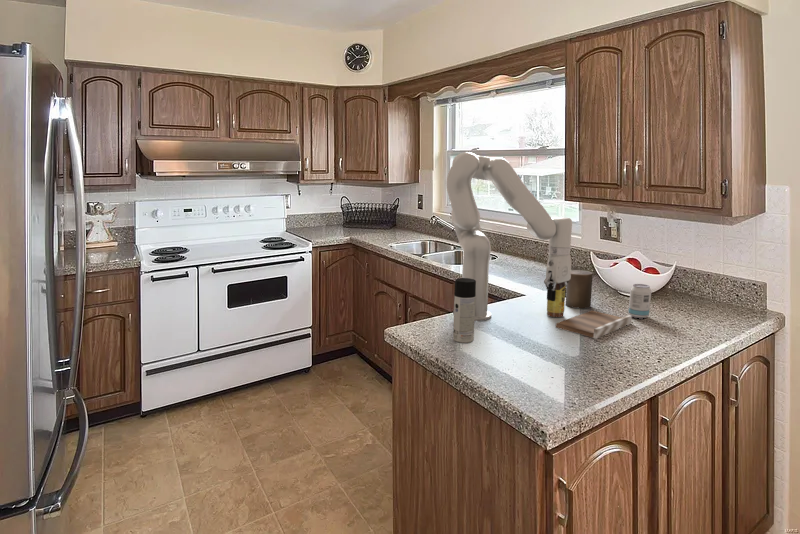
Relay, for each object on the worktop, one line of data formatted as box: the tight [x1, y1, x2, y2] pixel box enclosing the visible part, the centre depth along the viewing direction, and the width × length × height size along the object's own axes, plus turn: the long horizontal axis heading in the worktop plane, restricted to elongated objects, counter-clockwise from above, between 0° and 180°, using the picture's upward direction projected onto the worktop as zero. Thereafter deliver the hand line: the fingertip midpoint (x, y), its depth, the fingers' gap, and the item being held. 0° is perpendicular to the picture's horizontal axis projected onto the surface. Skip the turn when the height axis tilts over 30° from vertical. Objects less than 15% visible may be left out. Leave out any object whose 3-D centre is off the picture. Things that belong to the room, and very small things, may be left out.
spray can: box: [452, 277, 476, 344], centre depth 159 cm, size 7×7×20 cm
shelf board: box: [555, 310, 633, 339], centre depth 175 cm, size 24×15×3 cm, turn 130°
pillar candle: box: [564, 269, 594, 310], centre depth 199 cm, size 10×10×15 cm
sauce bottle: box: [546, 280, 566, 318], centre depth 185 cm, size 6×6×20 cm
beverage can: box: [627, 283, 652, 320], centre depth 184 cm, size 7×7×12 cm
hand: (556, 298), depth 186 cm, fingers closed on sauce bottle, 6 cm apart
